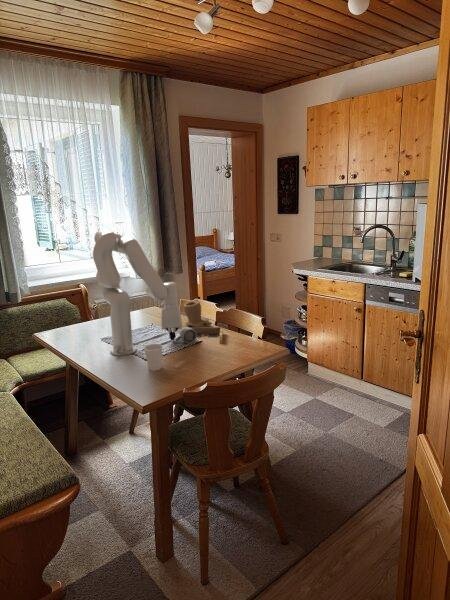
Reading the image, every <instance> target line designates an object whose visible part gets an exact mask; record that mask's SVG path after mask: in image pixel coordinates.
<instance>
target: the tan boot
mask: <svg viewBox="0 0 450 600" xmlns="http://www.w3.org/2000/svg"><path fill="white" fill-rule="evenodd" d="M183 310H184V312H185V315H186V317H187V320H188V321H186V322H185V325H186V326H190V327H192V328H203V327H211V325H212V324H213V323H212V322H211V321H206V320H203V319H202V306H201V303H200V301H198V300H196V301H195V300H194V301H192V300H191V301H188V302H186V303H184V305H183Z"/></svg>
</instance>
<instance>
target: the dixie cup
mask: <svg viewBox="0 0 450 600" xmlns="http://www.w3.org/2000/svg"><path fill="white" fill-rule="evenodd" d="M163 348H164V345H162V344H160V343H149V344H147V345H145V346H144V347H143V350H144V353H145V359H146V362H147V368H148V370H149V371H154V372H155V371H159V370H161V369H162V363H163V361H162V360H163Z"/></svg>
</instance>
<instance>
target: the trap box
mask: <svg viewBox="0 0 450 600" xmlns="http://www.w3.org/2000/svg"><path fill="white" fill-rule="evenodd" d="M190 328H191V329H193V330H194V331H195V332H196V334H197V337H196V338H201V337H202V336H207V337H208V338H217V337H218V336H219V345H222V344H223V337H224V336H223V335H224V332H223V331H224V327H223V326H221V327H219V326H218V327H217V326H215V327H211V326H208V327H203V328H199V327H190Z"/></svg>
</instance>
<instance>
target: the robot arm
mask: <svg viewBox="0 0 450 600" xmlns="http://www.w3.org/2000/svg"><path fill="white" fill-rule="evenodd" d="M93 237H94V238H93V239H94V242H95V244H94V247H93V250H92V257H93V262H94V265H95V268H96V270H97V272H96V275H95V279H96V282H97V284H98V287H99V289H100V292H101V295H102V297H103V299H104V300H105V302H106V304H108V305H110V312H109V313H110V314H109V315H110V318H109V319H110V326H111V337H112V348H111V349H110V350H109V353H110V354H111V355H112V356H127V355H132V354H133V353H135V352H136V351H137V347H136V346H135V345H134V344H133V333H132V332H133V331H132V318H131V317H132V316H131V297H130V295H129V293H128V292H127V291H126V290H124V289H122V288H121V286H120V284H121V275H120V273H119V271H118V268H117V266H116V263H115V260H114V258H113V257H114V256H113V252H116V253H119V254H122V255H124V256H125V258H126V259H127V261H128V263H129V264H130V266H131V268H132V270H133V271H134V273H136V275H137V276H138V277H139V278H140V279H142V281H144V283H145V284H146V285H147V286H146V290H145V292H146V295H148V297H150V298H152V299H154V300H155V301H158V302H159V301H160V302H161V301H162V303H161V304H160V307H161V308H162V309H161V315H160V319H161V329H162V330H165V331H167V332H168V334H169V336H168V337H169V339H170V341H175V339H176V338H177V337H176V332H177V331H178V330H181V329H182V328H183V325H182V323H183V322H182V314H181V313H182V312H181V309H180V307H179V302H178V300H179V299H178V285H177V282H175V281H167V282H164V281H163V280H162V278H161V277H160V275H159V273H158V272H157V271H156V270H155V267H154V266H153V265H152V263H150V261H149V259H148V257H147V255H146V254H145V252H144V250H143V249H142V247H141V245H140V243H139V242H138V240H137V239H135V238H134V237H129V236H125V235H120V234H117V233H116V232H114V231H112V230H108V229H100V230H98V231H96V233H95V234H94V236H93Z"/></svg>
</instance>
